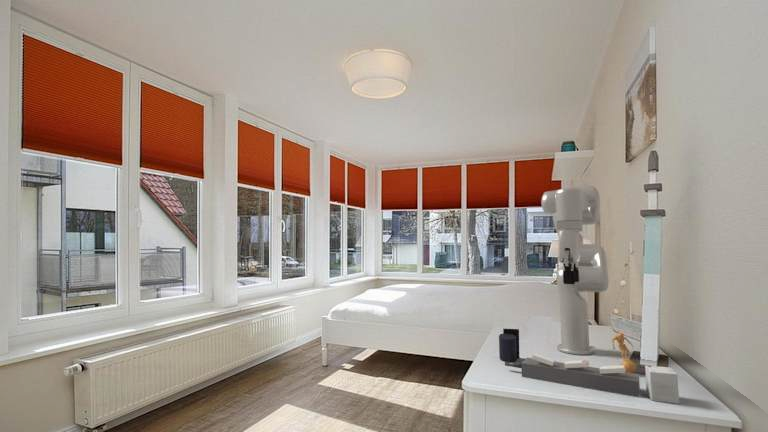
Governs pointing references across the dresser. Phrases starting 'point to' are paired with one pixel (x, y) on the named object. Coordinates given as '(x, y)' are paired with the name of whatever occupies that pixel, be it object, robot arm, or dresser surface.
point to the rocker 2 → (576, 364)
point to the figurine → (627, 363)
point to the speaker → (509, 345)
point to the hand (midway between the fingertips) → (571, 282)
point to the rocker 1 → (543, 359)
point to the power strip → (580, 377)
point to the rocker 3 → (612, 369)
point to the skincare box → (662, 384)
